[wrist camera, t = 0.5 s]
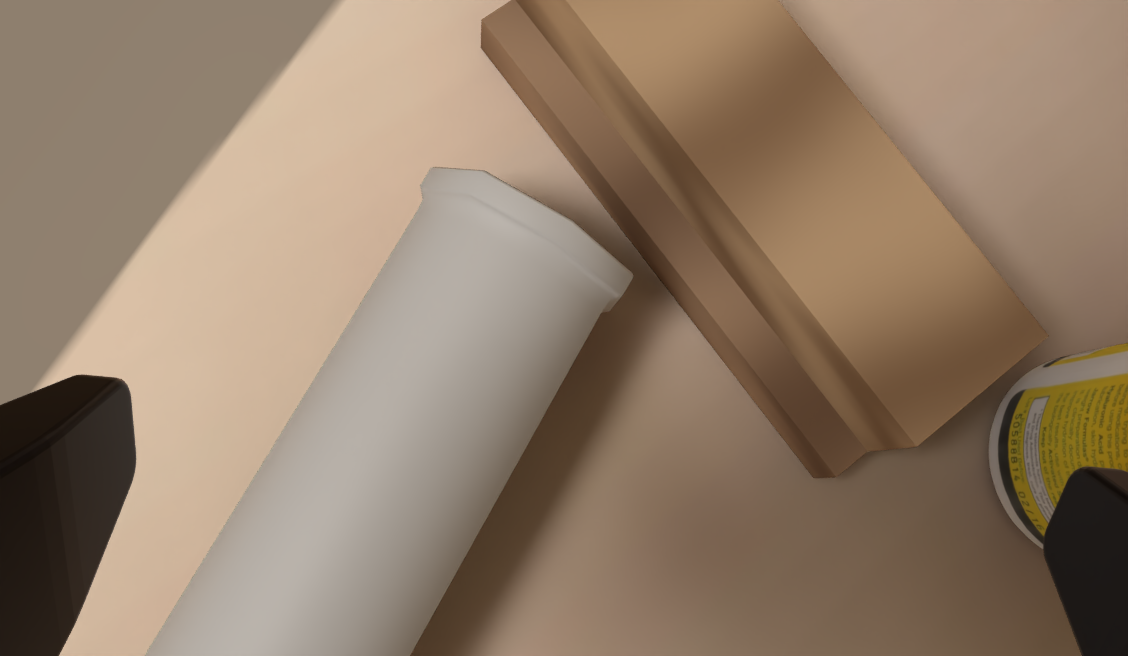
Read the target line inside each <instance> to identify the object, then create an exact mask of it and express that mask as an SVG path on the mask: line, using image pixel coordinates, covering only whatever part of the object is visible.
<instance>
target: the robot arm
mask: <svg viewBox="0 0 1128 656" xmlns="http://www.w3.org/2000/svg"><path fill="white" fill-rule="evenodd" d="M135 467H136V447H135V436H134V425H133V414H132V403H131V394H130V391H129V388H128V385H127V384H126V383H125V382H124V381H123V380H122V379H119V378H114V377H103V376H92V375H75V376H72V377H70V378H67V379H65V380H62V381H60V382H57V383H55V384H52V385H50V386H47V387H45V388H42V389H39V390H37V391H34V392H32V393H29V394H27V395H25V396H22V397H19V398H17V399H14V400H12V401H9V402H7V403H4V404H2V405H0V656H59V654H60V652H61V651H62V649H63V647H64V645H65V643H66V641H67V639H68V637H69V635H70V633H71V631H72V629H73V627H74V625H75V623H76V621H77V618H78V616H79V614H80V611H81V609H82V607H83V604H84V602H85V600H86V597H87V595H88V592H89V590H90V587H91V585H92V582H93V580H94V577H95V575H96V572H97V569H98V567H99V564H100V562H101V559H102V557H103V554H104V552H105V549H106V547H107V544H108V542H109V539H110V537H111V534H112V532H113V529H114V527H115V524H116V522H117V519H118V517H119V514H120V512H121V509H122V506H123V504H124V501H125V499H126V496H127V494H128V491H129V489H130V486H131V484H132V481H133V477H134V473H135ZM1043 550H1044V556H1045V560H1046V563H1047V565H1048V568H1049V571H1050V573H1051V576H1052V578H1053V581H1054V584H1055V586H1056V589H1057V592H1058V594H1059V597H1060V600H1061V602H1062V605H1063V607H1064V610H1065V613H1066V615H1067V618H1068V621H1069V623H1070V626H1071V628H1072V631H1073V634H1074V636H1075V639H1076V642H1077V644H1078V647H1079V650H1080V652H1081V655H1082V656H1128V472H1126V471H1124V470H1120V469H1113V468H1102V467H1091V466H1085V467H1081V468H1079V469H1077V470H1075V471H1074V472H1073V473H1072V474H1071V475H1070V477H1069V478H1068V480H1067V482H1066V485H1065V487H1064V489H1063V492H1062V494H1061V496H1060V498H1059V501H1058V503H1057V505H1056V507H1055V510H1054V512H1053V514H1052V517H1051V519H1050V521H1049V523H1048V526H1047V528H1046V531H1045V534H1044V539H1043Z"/></svg>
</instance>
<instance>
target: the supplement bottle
mask: <svg viewBox="0 0 1128 656" xmlns="http://www.w3.org/2000/svg"><path fill="white" fill-rule="evenodd" d="M989 465H990V472H991V476H992V480H993V483H994V486H995V489H996V492H997V494H998V497H999V499H1000V501H1001V503H1002V505H1003V507H1004V509H1005V511H1006V512H1007V514H1008V515H1009V517H1010V518H1011V520H1012V521H1013V522H1014V523H1015V525H1016V526H1017V527H1018V528H1019V529H1020V530H1021V531H1022V532H1023V533H1024V534H1025V535H1026V536H1027V537H1028V538H1029V539H1030V540H1031V541H1033V542H1034V543H1035V544H1036V545H1038V546H1039V547H1040V548H1042V549H1043V539H1044V534H1045V531H1046V528H1047V526H1048V523H1049V521H1050V519H1051V517H1052V514H1053V512H1054V510H1055V507H1056V505H1057V503H1058V501H1059V498H1060V496H1061V494H1062V492H1063V489H1064V487H1065V485H1066V482H1067V480H1068V478H1069V477H1070V475H1071V474H1072V473H1073V472H1074V471H1075V470H1077V469H1079V468H1081V467H1085V466H1091V467H1102V468H1113V469H1120V470H1124V471H1126V472H1128V343H1126V344H1120V345H1115V346H1110V347H1105V348H1100V349H1096V350H1091V351H1087V352H1082V353H1078V354H1074V355H1070V356H1065V357H1061V358H1058V359H1055V360H1052V361H1049V362H1046V363H1044V364H1041V365H1040V366H1038V367H1036V368H1034V369H1032V370H1031V371H1029V372H1028V373H1026V374H1025V375H1024V376H1023V377H1021V378H1020V379H1019V380H1018V381H1017V382H1016V383H1015V384H1014V385H1013V386H1012V387H1011V389H1010V390H1009V391H1008V393H1007V394H1006V395H1005V397H1004V398H1003V400H1002V402H1001V403H1000V405H999V408H998V410H997V412H996V414H995V417H994V421H993V424H992V428H991V433H990V439H989Z"/></svg>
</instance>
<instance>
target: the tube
mask: <svg viewBox="0 0 1128 656" xmlns="http://www.w3.org/2000/svg"><path fill="white" fill-rule="evenodd" d="M420 186H421V192H422V197H423V200H422V202H421V204H420V206H419V208H418V211H417V212H416V214H415V215H414V217H413V219H412V220H411V222H410V224H409V225H408V227H407V228H406V230H405V232H404V233H403V235H402V237H401V238H400V240H399V242H398V243H397V245H396V246H395V248H394V250H393V251H392V253H391V255H390V256H389V258H388V259H387V261H386V263H385V264H384V266H383V268H382V269H381V271H380V272H379V274H378V276H377V277H376V279H375V281H374V282H373V284H372V286H371V287H370V289H369V290H368V292H367V294H366V295H365V297H364V299H363V300H362V302H361V303H360V305H359V307H358V308H357V310H356V312H355V313H354V315H353V317H352V318H351V320H350V321H349V323H348V325H347V326H346V328H345V330H344V331H343V333H342V334H341V336H340V338H339V339H338V341H337V343H336V344H335V346H334V347H333V349H332V351H331V352H330V354H329V356H328V357H327V359H326V361H325V362H324V364H323V365H322V367H321V369H320V370H319V372H318V374H317V375H316V377H315V378H314V380H313V382H312V383H311V385H310V387H309V388H308V390H307V392H306V393H305V395H304V396H303V398H302V400H301V401H300V403H299V405H298V406H297V408H296V409H295V411H294V413H293V414H292V416H291V418H290V419H289V421H288V422H287V424H286V426H285V427H284V429H283V431H282V432H281V434H280V436H279V437H278V439H277V440H276V442H275V444H274V445H273V447H272V449H271V450H270V452H269V453H268V455H267V457H266V458H265V460H264V462H263V463H262V465H261V467H260V468H259V470H258V471H257V473H256V475H255V476H254V478H253V480H252V481H251V483H250V484H249V486H248V488H247V489H246V491H245V493H244V494H243V496H242V498H241V499H240V501H239V502H238V504H237V506H236V507H235V509H234V511H233V512H232V514H231V515H230V517H229V519H228V520H227V522H226V524H225V525H224V527H223V528H222V530H221V532H220V533H219V535H218V537H217V538H216V540H215V542H214V543H213V545H212V546H211V548H210V550H209V551H208V553H207V555H206V556H205V558H204V559H203V561H202V563H201V564H200V566H199V568H198V569H197V571H196V573H195V574H194V576H193V577H192V579H191V581H190V582H189V584H188V586H187V587H186V589H185V590H184V592H183V594H182V595H181V597H180V599H179V600H178V602H177V603H176V605H175V607H174V608H173V610H172V612H171V613H170V615H169V617H168V618H167V620H166V621H165V623H164V625H163V626H162V628H161V630H160V631H159V633H158V634H157V636H156V638H155V639H154V641H153V643H152V644H151V646H150V648H149V649H148V651H147V652H146V654H145V656H410V655H411V653H412V651H413V650H414V648H415V646H416V644H417V642H418V641H419V639H420V637H421V635H422V633H423V632H424V630H425V628H426V626H427V624H428V623H429V621H430V619H431V617H432V616H433V614H434V612H435V610H436V608H437V607H438V605H439V603H440V601H441V599H442V598H443V596H444V594H445V592H446V590H447V589H448V587H449V585H450V583H451V581H452V580H453V578H454V576H455V574H456V572H457V571H458V569H459V567H460V565H461V563H462V562H463V560H464V558H465V556H466V555H467V553H468V551H469V549H470V547H471V546H472V544H473V542H474V540H475V538H476V537H477V535H478V533H479V531H480V529H481V528H482V526H483V524H484V522H485V520H486V519H487V517H488V515H489V513H490V511H491V510H492V508H493V506H494V504H495V502H496V501H497V499H498V497H499V495H500V493H501V492H502V490H503V488H504V486H505V485H506V483H507V481H508V479H509V477H510V476H511V474H512V472H513V470H514V468H515V467H516V465H517V463H518V461H519V459H520V458H521V456H522V454H523V452H524V450H525V449H526V447H527V445H528V443H529V441H530V440H531V438H532V436H533V434H534V432H535V431H536V429H537V427H538V425H539V424H540V422H541V420H542V418H543V416H544V415H545V413H546V411H547V409H548V407H549V406H550V404H551V402H552V400H553V398H554V397H555V395H556V393H557V391H558V389H559V388H560V386H561V384H562V382H563V380H564V379H565V377H566V375H567V373H568V371H569V370H570V368H571V366H572V364H573V363H574V361H575V359H576V357H577V355H578V354H579V352H580V350H581V348H582V346H583V345H584V343H585V341H586V339H587V337H588V336H589V334H590V332H591V330H592V328H593V327H594V325H595V323H596V321H597V319H598V318H599V316H600V314H601V313H602V312H609V311H610V310H611V309H612V308H613V307H614V305H615V304H616V303H617V302H618V300H619V299H620V298H621V297H622V295H623V294H624V292H625V291H626V289H627V287H628V285H629V284H630V282H631V280H632V279H633V274H632V272H631V271H630V270H628V269H627V268H626V267H625V266H624V265H623V264H622V263H620V262H619V261H618V260H617V259H616V258H615V257H614V256H612V255H611V254H610V253H609V252H608V251H607V250H606V249H604V248H603V247H602V246H601V245H600V244H599V243H598V242H596V241H595V240H594V239H593V238H592V237H591V236H590V235H588V234H587V233H586V232H585V231H584V230H583V229H582V228H580V227H579V226H578V225H577V224H576V223H575V222H574V221H572V220H571V219H569V218H567V217H566V216H564V215H562V214H560V213H558V212H557V211H555V210H553V209H551V208H550V207H548V206H546V205H544V204H543V203H541V202H539V201H537V200H535V199H534V198H532V197H530V196H528V195H527V194H525V193H523V192H521V191H520V190H518V189H516V188H514V187H512V186H511V185H509V184H507V183H505V182H504V181H502V180H500V179H498V178H497V177H495V176H493V175H491V174H490V173H488V172H486V171H484V170H470V169H456V168H442V167H433V168H430V170H429V172H428V173H427V175H426V177H425V178H424V180H423V182H422V184H421V185H420Z"/></svg>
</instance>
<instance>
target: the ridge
mask: <svg viewBox="0 0 1128 656" xmlns="http://www.w3.org/2000/svg"><path fill="white" fill-rule="evenodd" d="M481 48H482V50H483V51H484V52H485V54H486V55H487V56H488V57H489V59H490V60H491V61H492V63H493V64H494V65H495V67H496V68H497V69H498V70H499V72H500V73H501V74H502V76H503V77H504V78H505V79H506V81H507V82H508V83H509V85H510V86H511V87H512V89H513V90H514V91H515V92H516V94H517V95H518V96H519V98H520V99H521V100H522V101H523V103H524V104H525V105H526V107H527V108H528V109H529V110H530V112H531V113H532V114H533V116H534V117H535V118H536V120H537V121H538V122H539V123H540V125H541V126H542V127H543V129H544V130H545V131H546V132H547V134H548V135H549V136H550V138H551V139H552V140H553V142H554V143H555V144H556V145H557V147H558V148H559V149H560V151H561V152H562V153H563V154H564V156H565V157H566V158H567V160H568V161H569V162H570V164H571V165H572V166H573V167H574V169H575V170H576V171H577V173H578V174H579V175H580V176H581V178H582V179H583V180H584V182H585V183H586V184H587V186H588V187H589V188H590V189H591V191H592V192H593V193H594V195H595V196H596V197H597V198H598V200H599V201H600V202H601V204H602V205H603V206H604V208H605V209H606V210H607V211H608V213H609V214H610V215H611V217H612V218H613V219H614V220H615V222H616V223H617V224H618V226H619V227H620V228H621V229H622V231H623V232H624V233H625V235H626V236H627V237H628V239H629V240H630V241H631V242H632V244H633V245H634V246H635V248H636V249H637V250H638V251H639V253H640V254H641V255H642V257H643V258H644V259H645V261H646V262H647V263H648V264H649V266H650V267H651V268H652V270H653V271H654V272H655V273H656V275H657V276H658V277H659V279H660V280H661V281H662V283H663V284H664V285H665V286H666V288H667V289H668V290H669V292H670V293H671V294H672V295H673V297H674V298H675V299H676V301H677V302H678V303H679V305H680V306H681V307H682V308H683V310H684V311H685V312H686V314H687V315H688V316H689V317H690V319H691V320H692V321H693V323H694V324H695V325H696V327H697V328H698V329H699V330H700V332H701V333H702V334H703V336H704V337H705V338H706V339H707V341H708V342H709V343H710V345H711V346H712V347H713V348H714V350H715V351H716V352H717V354H718V355H719V356H720V358H721V359H722V360H723V361H724V363H725V364H726V365H727V367H728V368H729V369H730V370H731V372H732V373H733V374H734V376H735V377H736V378H737V380H738V381H739V382H740V383H741V385H742V386H743V387H744V389H745V390H746V391H747V392H748V394H749V395H750V396H751V398H752V399H753V400H754V402H755V403H756V404H757V405H758V407H759V408H760V409H761V411H762V412H763V413H764V414H765V416H766V417H767V418H768V420H769V421H770V422H771V424H772V425H773V426H774V427H775V429H776V430H777V431H778V433H779V434H780V435H781V436H782V438H783V439H784V440H785V442H786V443H787V444H788V446H789V447H790V448H791V449H792V451H793V452H794V453H795V455H796V456H797V457H798V458H799V460H800V461H801V462H802V464H803V465H804V466H805V467H806V469H807V470H808V471H809V473H810V474H811V475H812V477H813V478H830V477H837V476H839V475H840V474H841V473H842V472H843V471H845V470H846V469H847V468H848V467H849V466H851V465H852V464H853V463H854V462H856V461H857V460H858V459H859V458H860V457H862V456H863V455H864V454H865V453H866V452H868V451H878V450H889V449H899V448H910V447H917V446H918V445H920V444H921V443H922V442H923V441H924V440H926V439H927V438H928V437H929V436H930V435H932V434H933V433H934V432H935V431H936V430H937V429H939V428H940V427H941V426H942V425H943V424H945V423H946V422H947V421H948V420H949V419H951V418H952V417H953V416H954V415H955V414H957V413H958V412H959V411H960V410H961V409H963V408H964V407H965V406H966V405H967V404H968V403H970V402H971V401H972V400H973V399H974V398H976V397H977V396H978V395H979V394H980V393H982V392H983V391H984V390H985V389H986V388H988V387H989V386H990V385H991V384H992V383H994V382H995V381H996V380H997V379H998V378H1000V377H1001V376H1002V375H1003V374H1004V373H1005V372H1007V371H1008V370H1009V369H1010V368H1011V367H1013V366H1014V365H1015V364H1016V363H1017V362H1019V361H1020V360H1021V359H1022V358H1023V357H1025V356H1026V355H1027V354H1028V353H1029V352H1031V351H1032V350H1033V349H1034V348H1035V347H1036V346H1038V345H1039V344H1040V343H1041V342H1042V341H1044V340H1045V339H1046V338H1047V337H1048V336H1049V335H1048V334H1047V333H1046V332H1045V330H1044V329H1043V328H1042V327H1041V325H1040V324H1039V323H1038V322H1037V320H1036V319H1035V318H1034V317H1033V315H1032V314H1031V313H1030V312H1029V311H1028V309H1027V308H1026V307H1025V306H1024V304H1023V303H1022V302H1021V301H1020V299H1019V298H1018V297H1017V296H1016V294H1015V293H1014V292H1013V291H1012V289H1011V288H1010V287H1009V286H1008V285H1007V283H1006V282H1005V281H1004V280H1003V278H1002V277H1001V276H1000V275H999V273H998V272H997V271H996V270H995V268H994V267H993V266H992V265H991V263H990V262H989V261H988V260H987V259H986V257H985V256H984V255H983V254H982V252H981V251H980V250H979V249H978V247H977V246H976V245H975V244H974V242H973V241H972V240H971V239H970V237H969V236H968V235H967V234H966V233H965V231H964V230H963V229H962V228H961V226H960V225H959V224H958V223H957V221H956V220H955V219H954V218H953V216H952V215H951V214H950V213H949V211H948V210H947V209H946V208H945V207H944V205H943V204H942V203H941V202H940V200H939V199H938V198H937V197H936V195H935V194H934V193H933V192H932V190H931V189H930V188H929V187H928V185H927V184H926V183H925V182H924V181H923V179H922V178H921V177H920V176H919V174H918V173H917V172H916V171H915V169H914V168H913V167H912V166H911V164H910V163H909V162H908V161H907V159H906V158H905V157H904V156H903V155H902V153H901V152H900V151H899V150H898V148H897V147H896V146H895V145H894V143H893V142H892V141H891V140H890V138H889V137H888V136H887V135H886V133H885V132H884V131H883V130H882V128H881V127H880V126H879V125H878V124H877V122H876V121H875V120H874V119H873V117H872V116H871V115H870V114H869V112H868V111H867V110H866V109H865V107H864V106H863V105H862V104H861V102H860V101H859V100H858V99H857V98H856V96H855V95H854V94H853V93H852V91H851V90H850V89H849V88H848V86H847V85H846V84H845V83H844V81H843V80H842V79H841V78H840V76H839V75H838V74H837V73H836V72H835V70H834V69H833V68H832V67H831V65H830V64H829V63H828V62H827V60H826V59H825V58H824V57H823V55H822V54H821V53H820V52H819V50H818V49H817V48H816V47H815V46H814V44H813V43H812V42H811V41H810V39H809V38H808V37H807V36H806V34H805V33H804V32H803V31H802V29H801V28H800V27H799V26H798V24H797V23H796V22H795V21H794V20H793V18H792V17H791V16H790V15H789V13H788V12H787V11H786V10H785V8H784V7H783V6H782V5H781V3H780V2H779V1H778V0H511V1H510V2H508V3H506V4H505V5H503V6H502V7H500V8H499V9H497V10H496V11H494V12H493V13H491V14H490V15H488V16H486V17H485V18H483V19H482V25H481Z"/></svg>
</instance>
